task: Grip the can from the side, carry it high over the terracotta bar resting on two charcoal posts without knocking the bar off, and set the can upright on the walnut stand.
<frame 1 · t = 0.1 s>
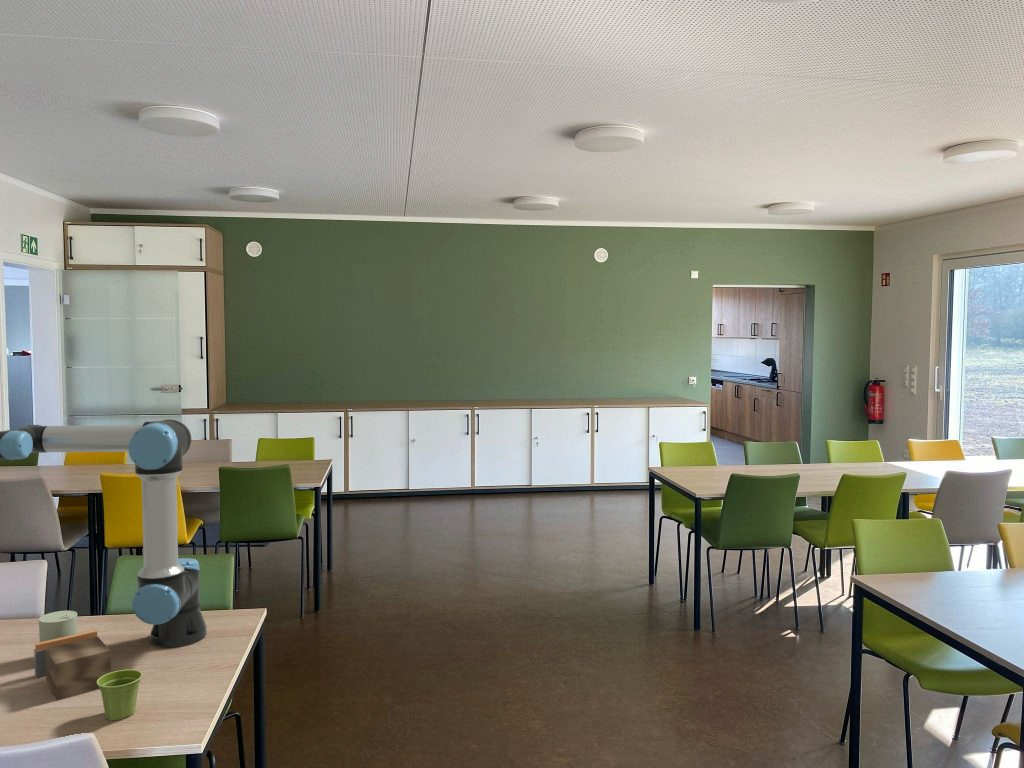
plant pot: (120, 715, 174), on the table
terracotta bar: (67, 643, 198), point 7 cm above the table, touching hurdle posts
hurdle posts: (67, 669, 198), on the table
walnut stand: (78, 684, 189), on the table
can: (59, 658, 206), on the table
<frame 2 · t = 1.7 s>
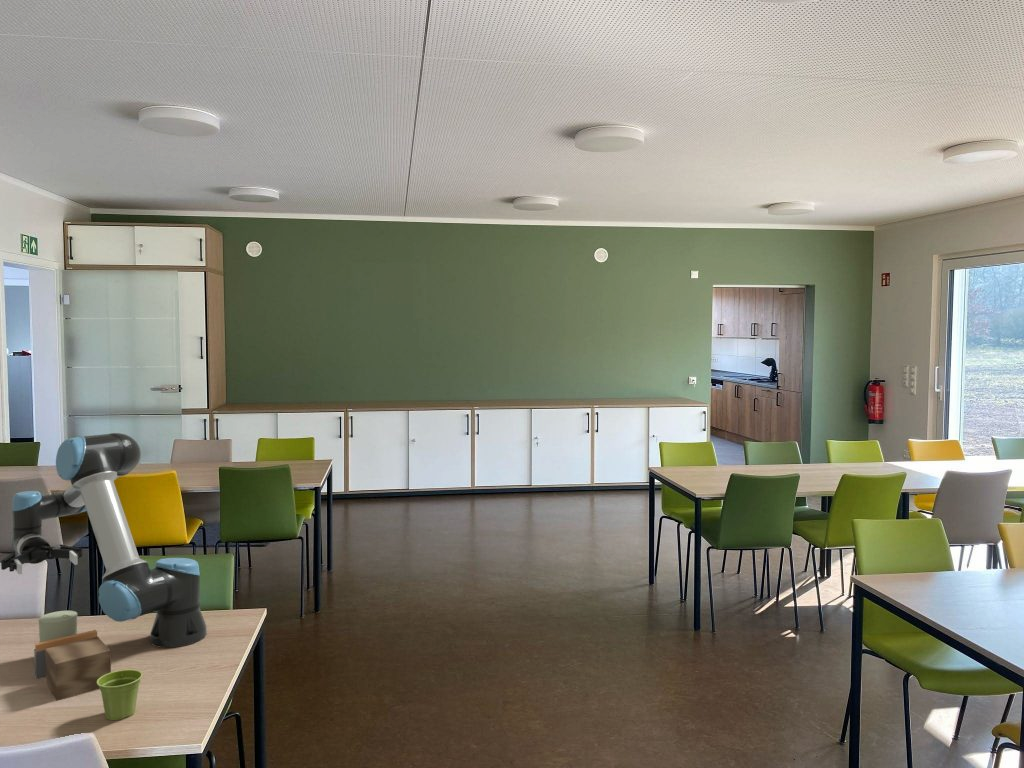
hand: (48, 564, 211), 24 cm above the table, tool horizontal, fingers open, 13 cm apart
nothing on the table moved.
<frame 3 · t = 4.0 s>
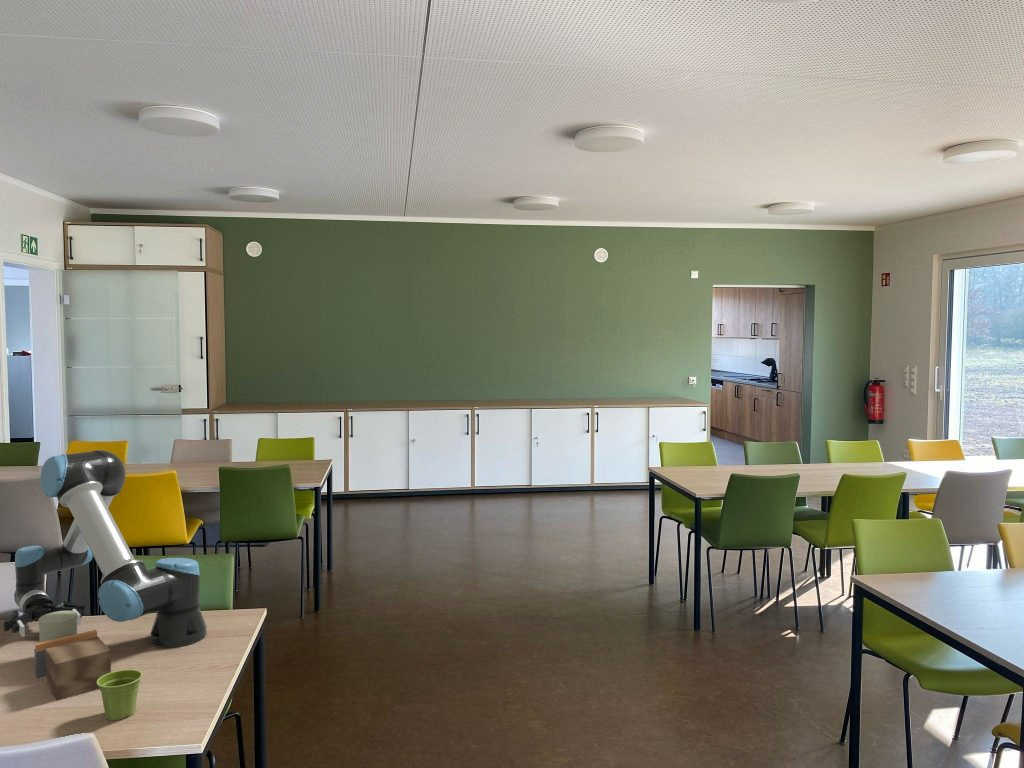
hand: (51, 625, 210), 7 cm above the table, tool horizontal, fingers open, 13 cm apart
nothing on the table moved.
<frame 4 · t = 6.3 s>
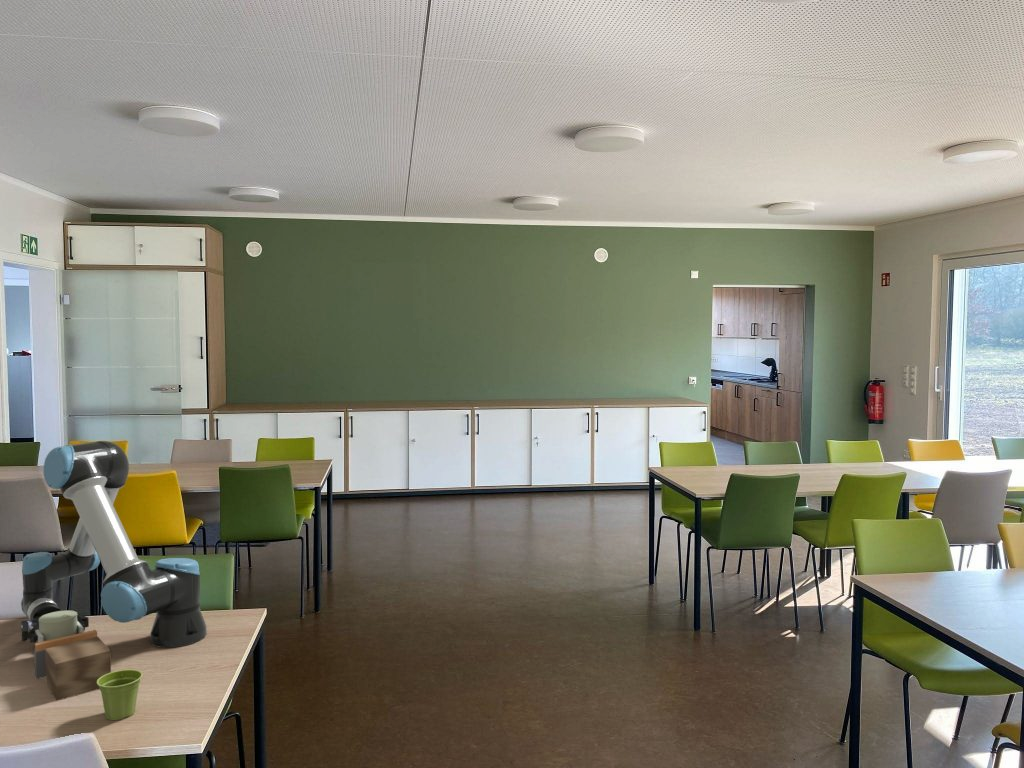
hand: (62, 637, 202), 7 cm above the table, tool horizontal, fingers closed on can, 9 cm apart
can: (59, 658, 206), on the table, touching gripper
everything else where it was.
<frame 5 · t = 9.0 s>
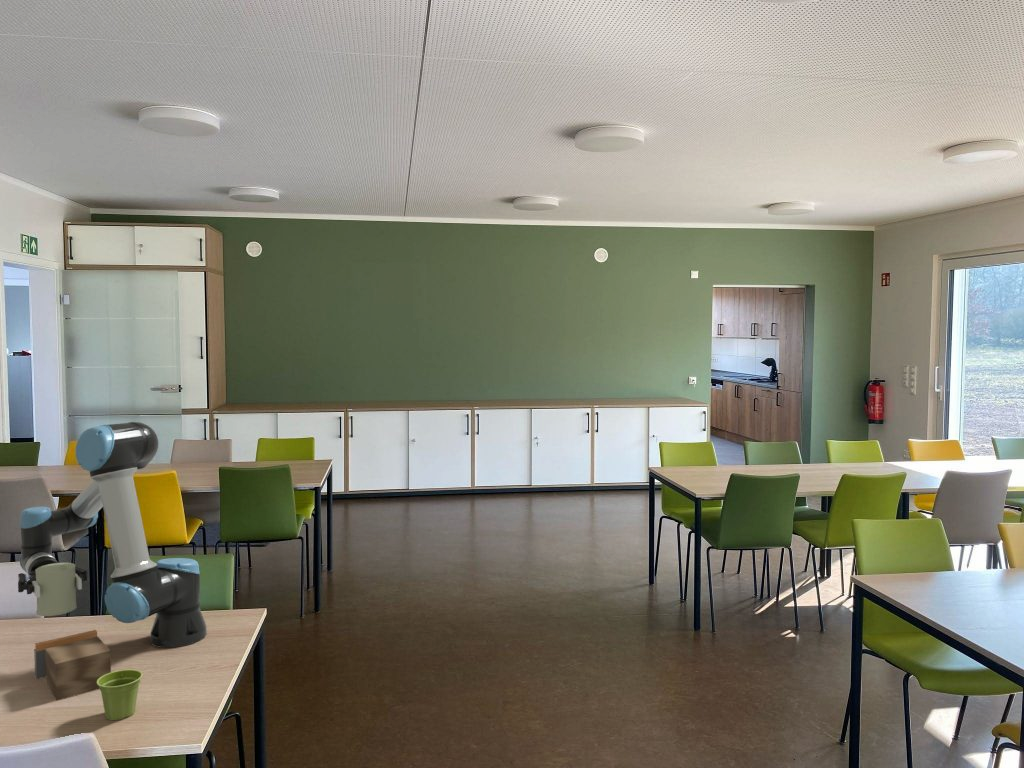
hand: (59, 588, 196), 22 cm above the table, tool horizontal, fingers closed on can, 9 cm apart
can: (56, 610, 199), point 15 cm above the table, touching gripper
everything else where it was.
when the fingers open (17 cm above the table, at t = 11.7 s): can drops 1 cm, resting on walnut stand.
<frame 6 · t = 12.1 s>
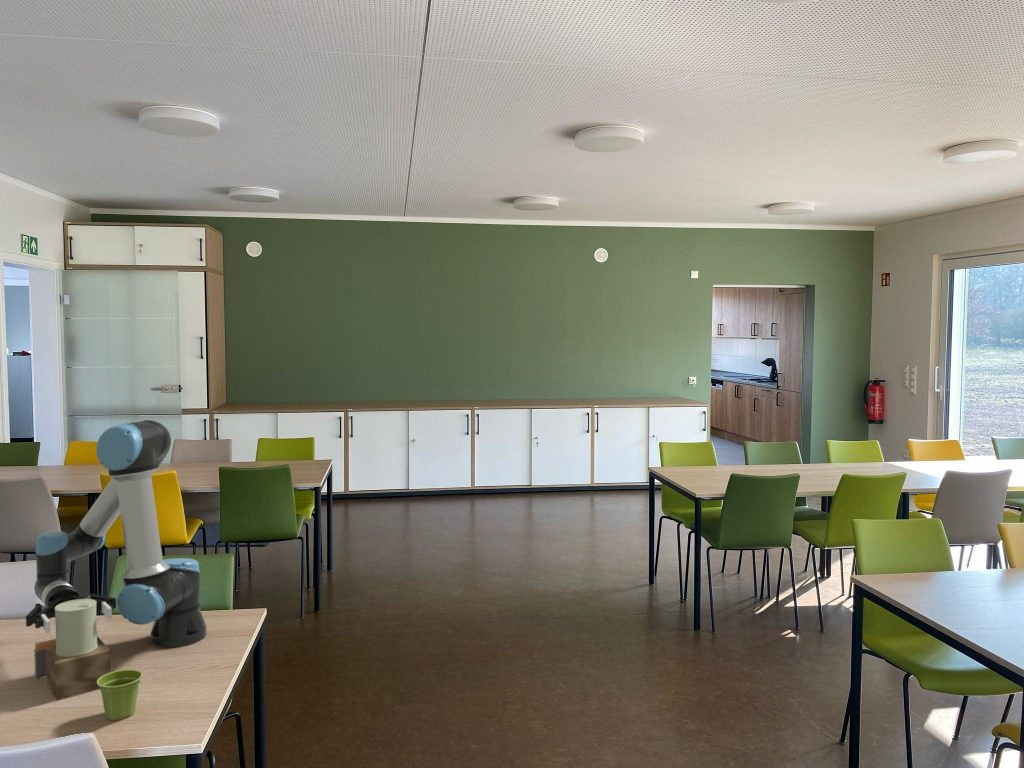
hand: (80, 620, 186), 17 cm above the table, tool horizontal, fingers open, 13 cm apart
can: (76, 650, 189), point 9 cm above the table, touching walnut stand
everything else where it was.
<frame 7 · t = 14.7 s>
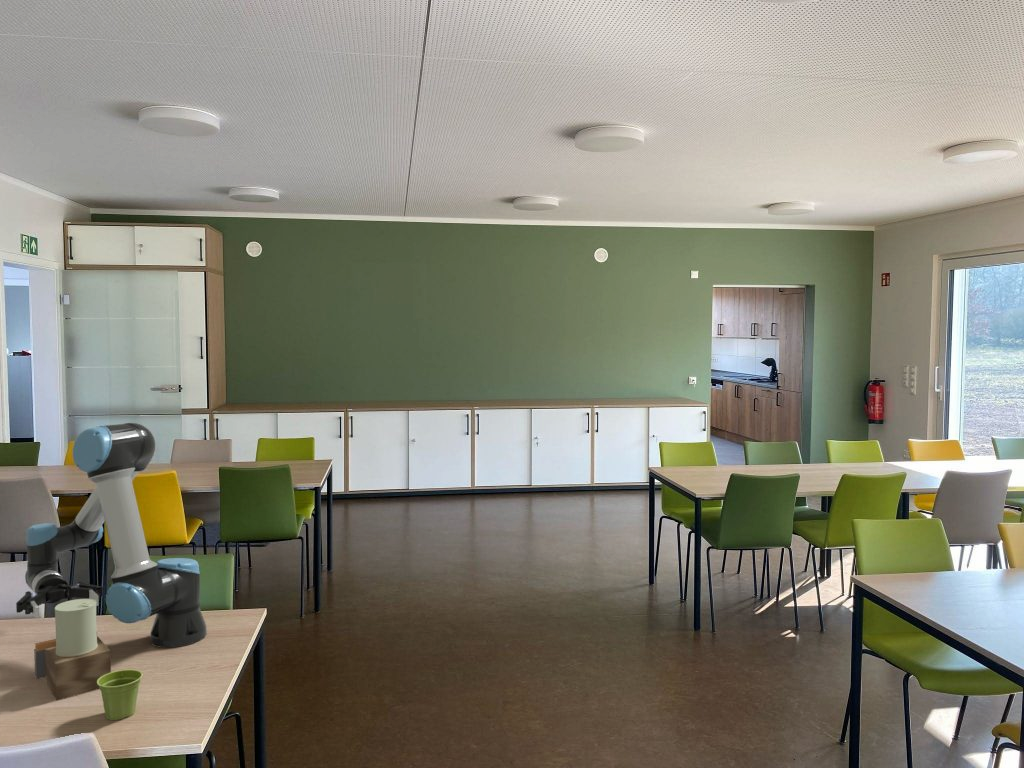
hand: (68, 606, 195), 18 cm above the table, tool horizontal, fingers open, 13 cm apart
nothing on the table moved.
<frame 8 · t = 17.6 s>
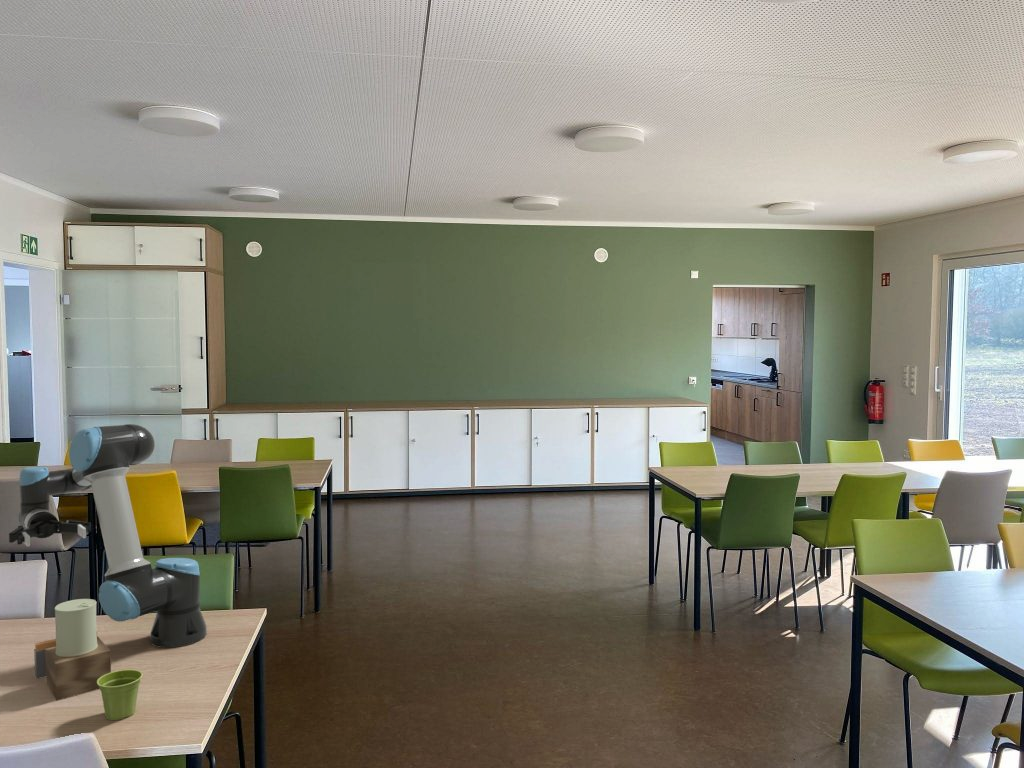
hand: (57, 537, 209), 32 cm above the table, tool horizontal, fingers open, 13 cm apart
nothing on the table moved.
at the end: can inside the target area on the walnut stand (0.2 cm from its centre), point 8.8 cm above the walnut stand's base; can tilted 0°; terracotta bar moved 0.0 cm from its start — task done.
